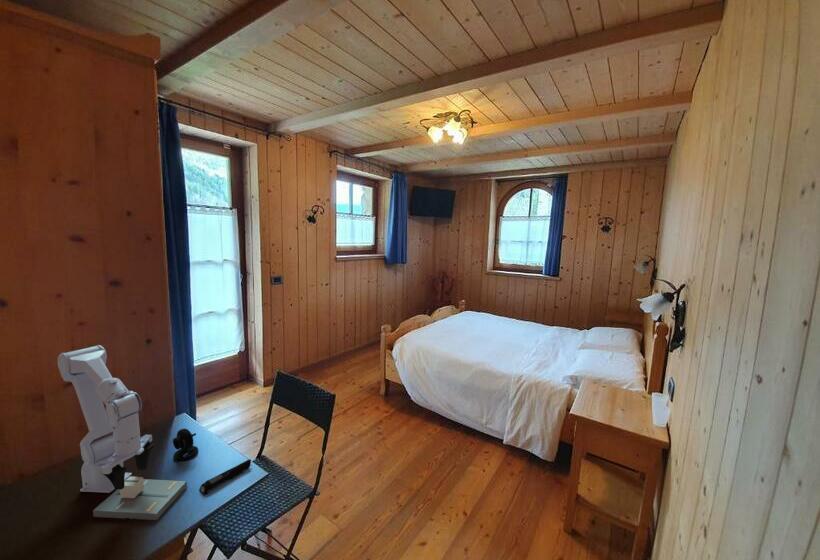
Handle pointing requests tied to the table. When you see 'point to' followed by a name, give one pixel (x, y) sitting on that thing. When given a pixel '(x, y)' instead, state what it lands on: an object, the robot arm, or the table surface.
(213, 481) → the electric trimmer
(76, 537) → the table surface
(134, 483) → the fader
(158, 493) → the console
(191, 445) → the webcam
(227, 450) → the table surface
